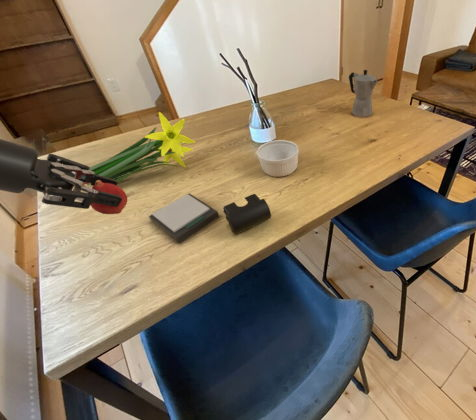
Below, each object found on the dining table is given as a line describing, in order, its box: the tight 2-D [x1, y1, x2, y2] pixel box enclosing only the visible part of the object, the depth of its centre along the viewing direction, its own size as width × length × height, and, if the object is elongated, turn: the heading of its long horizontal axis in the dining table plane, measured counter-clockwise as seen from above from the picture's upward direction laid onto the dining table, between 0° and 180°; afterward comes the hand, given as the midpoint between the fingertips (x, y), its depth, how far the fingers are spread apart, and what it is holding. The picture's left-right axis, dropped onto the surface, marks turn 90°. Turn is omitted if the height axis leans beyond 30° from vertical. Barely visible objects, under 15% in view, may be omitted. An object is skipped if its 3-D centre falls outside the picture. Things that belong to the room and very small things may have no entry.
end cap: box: [222, 193, 272, 235], centre depth 70 cm, size 10×7×7 cm
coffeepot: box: [348, 69, 379, 118], centre depth 118 cm, size 15×9×18 cm, turn 43°
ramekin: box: [256, 139, 300, 178], centre depth 90 cm, size 13×13×7 cm
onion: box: [90, 180, 128, 215], centre depth 53 cm, size 6×6×8 cm
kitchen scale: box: [148, 193, 220, 245], centre depth 73 cm, size 12×13×3 cm
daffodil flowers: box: [86, 111, 196, 186], centre depth 85 cm, size 17×15×35 cm
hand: (117, 193), depth 54 cm, fingers closed on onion, 5 cm apart
